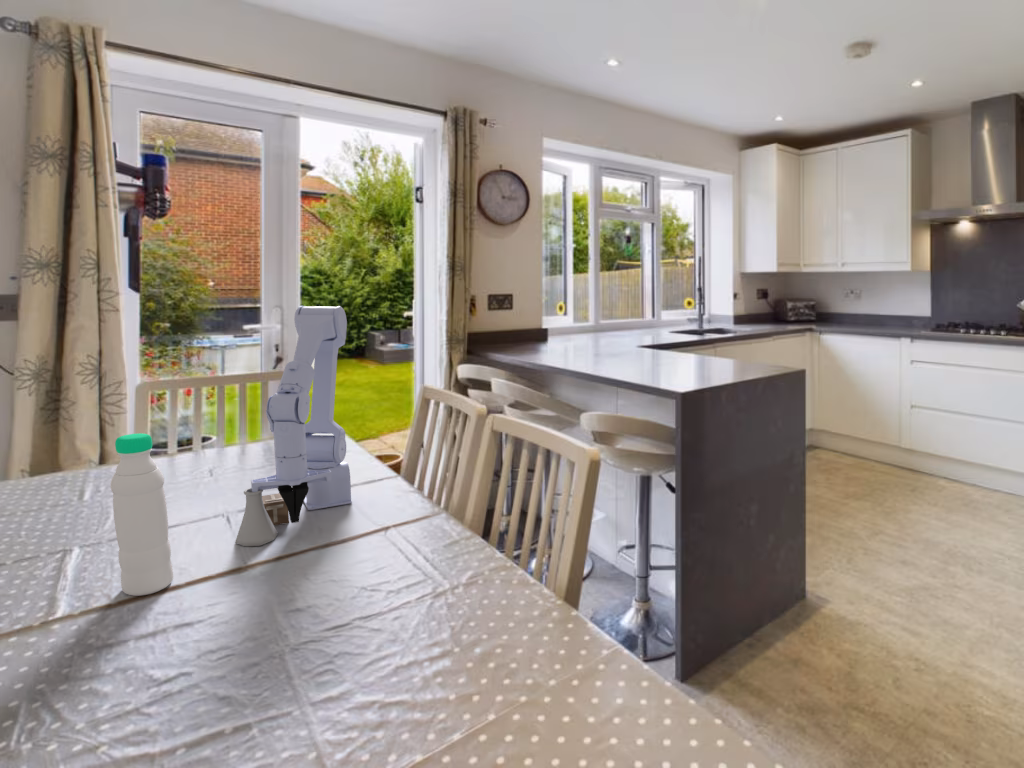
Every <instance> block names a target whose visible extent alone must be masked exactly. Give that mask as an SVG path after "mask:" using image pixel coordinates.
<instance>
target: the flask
mask: <svg viewBox="0 0 1024 768" xmlns="http://www.w3.org/2000/svg"><path fill="white" fill-rule="evenodd" d="M263 492H264V490H262V489H261V490H260V491H257V492H252V488H251V487H249V488H246V489H245V490H244V491H243V494H244V495H245V501H246V503H245V508H244V509H245V510H244V513H243V516H242V520H241V524H240V527H239V530H238V533H237V535H236V537H235V538H236V539H235V542H234V543H235V544H237V545H240V546H243V547H258V546H259V547H260V546H263V545H265V544H267V543H270V542H272V541H274V540H275V539H276V537H277V536H278V534H279V532H278V530H277V529H276V527H275V525H273V523H272V521H271V519H270V517H269V515H268V513H267V511H266V509H265V507H264V503H263V500H262V496H263Z"/></svg>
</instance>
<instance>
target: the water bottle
mask: <svg viewBox="0 0 1024 768" xmlns="http://www.w3.org/2000/svg"><path fill="white" fill-rule="evenodd" d="M114 443H115V445H114V446H115V451H116V454H117V455H118V457H120V458H119V459H120V460H119V463H118V464H117V466H116V467H115V472H114V474H113V476H112V478H111V480H110V489H111V490H110V491H111V492H112V509H113V518H114V519H113V520H114V526H115V527H114V528H115V535H116V540H117V545H118V564H119V567H120V583H121V585H120V587H121V590H122V591H123V593H124V594H126V595H129V596H134V597H138V596H139V597H140V596H146V595H151V594H154V593H157V592H160V591H163V590H164V589H165V588H166V587H168V586H169V585H170V584H171V583H172V582H173V580H174V569H173V564H172V560H171V557H172V556H171V555H172V549H171V543H170V540H169V517H168V505H167V501H166V499H167V498H166V493H165V488H164V484H165V477H164V474H163V472H162V471H161V469H160V468H159V466H157V463H156V462H155V460H154V459H153V458H152V457H151V454H150V453H151V452H152V450H153V449H152V448H153V439H152V436H151V435H150V434H147V433H140V432H139V433H129V434H125V435H121V436H118V437H117V438H116V439H115V442H114Z"/></svg>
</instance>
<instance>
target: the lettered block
mask: <svg viewBox="0 0 1024 768" xmlns="http://www.w3.org/2000/svg"><path fill="white" fill-rule="evenodd" d="M262 500H263V503H264V507H265V509H266V511H267V513H268V515H269V517H270V519H271V521H272V523H273V525H274V526H279V525H285V524H289V523H290V515H289V511H288V508H287V506H286V504H285V502H284V500H283V498H282V497H281V495H280V493H279V492H278V493H273V494H266V495H262Z"/></svg>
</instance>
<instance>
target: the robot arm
mask: <svg viewBox="0 0 1024 768" xmlns="http://www.w3.org/2000/svg"><path fill="white" fill-rule="evenodd" d="M294 325H295V329H296V333H297V335H298V337H297V342H296V347H295V352H294V356H293V360H291V361H288V362H287V363H286V364H285V367H284V369H283V372H282V375H281V379H280V381H279V384H278V387H277V391H276V392H275V393H274V394H273V395H271V396H269V398H268V399H267V401H266V410H265V415H266V418H267V421H268V423H269V430H270V432H271V433H273V442H274V443H273V444H274V462H275V474H273V475H269V476H265V477H261V478H257V479H251V480H250V485H251V487H250V488H252V492H257V491H260V490H261V489H262V490H263V491H266V490H271V489H272V490H273V489H277V490H278V493H280V495H281V497H282V498H283V500H284V502H285V504H286V506H287V508H288V515H289V521H290V523H291V524H293V523H300V515H301V510H302V507H303V505H305V507H306V509H307V510H308V511H314V510H318V509H319V510H320V509H325V508H331V507H337V506H338V507H339V506H343V505H348V504H352V503H353V500H352V492H351V491H352V489H351V488H352V486H351V472H350V467H349V462H347V461H344V460H345V457H346V453H347V441H346V431H345V429H344V428H343V427H342V426H341V425H339V424H338V423H337V422H336V421H335V420H334V416H335V414H334V413H335V400H336V399H335V396H336V385H337V384H336V381H337V369H338V368H337V366H338V356H339V355H338V354H339V348H341V347H342V346H345V345H346V339H347V329H348V328H347V327H348V321H347V315H346V312H345V309H344V308H343V307H342V306H341V305H338V306H306V305H299V306H298V307H297V309H295V313H294ZM313 363H314V365H313ZM312 365H313V366H312ZM311 387H312V392H311ZM310 392H311V393H312V394H311V396H310ZM310 403H311V404H310ZM310 405H311V407H310ZM310 408H311V409H310ZM309 415H310V419H309V418H308V417H309ZM308 419H309V421H308ZM307 421H308V422H307ZM316 434H317V435H316ZM318 434H320V435H318ZM321 434H328V435H321ZM329 434H331V435H329Z"/></svg>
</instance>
